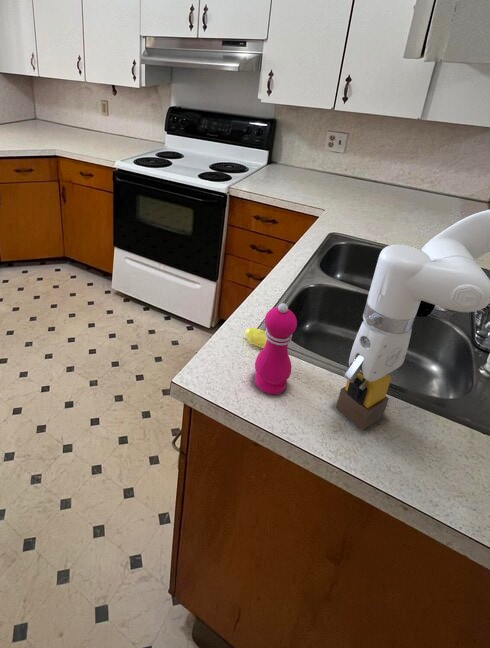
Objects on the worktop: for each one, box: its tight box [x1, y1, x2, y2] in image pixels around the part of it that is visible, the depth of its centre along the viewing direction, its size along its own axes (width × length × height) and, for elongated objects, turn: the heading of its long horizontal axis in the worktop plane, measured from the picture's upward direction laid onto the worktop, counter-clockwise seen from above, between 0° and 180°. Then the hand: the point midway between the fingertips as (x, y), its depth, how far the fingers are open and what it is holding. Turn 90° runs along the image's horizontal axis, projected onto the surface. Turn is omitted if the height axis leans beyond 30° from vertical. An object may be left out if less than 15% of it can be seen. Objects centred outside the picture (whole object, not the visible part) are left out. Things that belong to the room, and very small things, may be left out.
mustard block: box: [344, 373, 392, 408], centre depth 79 cm, size 5×5×5 cm
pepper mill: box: [254, 302, 298, 395], centre depth 84 cm, size 7×7×20 cm
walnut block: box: [335, 385, 390, 431], centre depth 81 cm, size 6×6×5 cm
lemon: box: [244, 327, 267, 349], centre depth 98 cm, size 4×8×4 cm, turn 46°
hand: (364, 392), depth 80 cm, fingers closed on mustard block, 5 cm apart
